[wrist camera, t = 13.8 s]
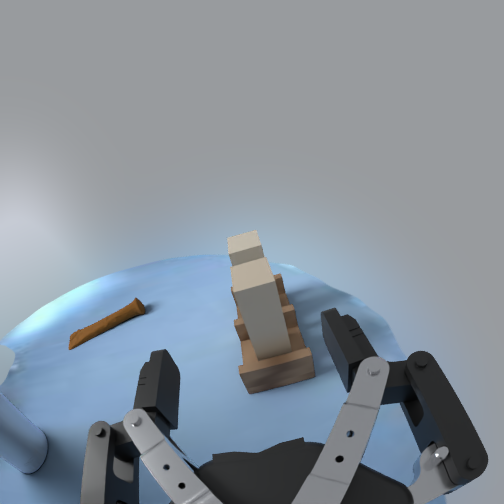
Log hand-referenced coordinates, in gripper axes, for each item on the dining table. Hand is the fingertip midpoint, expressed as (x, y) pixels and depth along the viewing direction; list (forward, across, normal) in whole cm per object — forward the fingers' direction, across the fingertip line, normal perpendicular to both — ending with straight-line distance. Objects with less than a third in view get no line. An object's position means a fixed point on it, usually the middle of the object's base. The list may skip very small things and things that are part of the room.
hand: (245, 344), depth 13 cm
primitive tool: (+30, +31, +19) cm, 47 cm away
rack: (+18, -1, +18) cm, 25 cm away
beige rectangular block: (+14, -1, +17) cm, 22 cm away
